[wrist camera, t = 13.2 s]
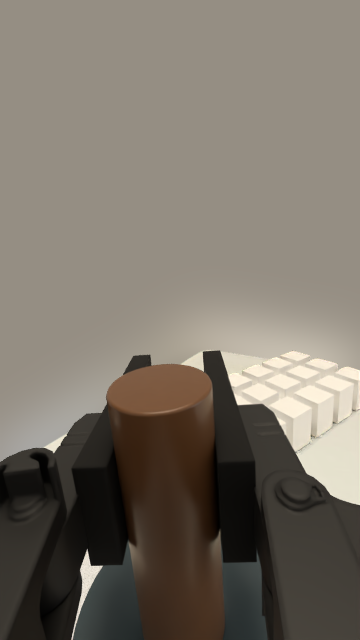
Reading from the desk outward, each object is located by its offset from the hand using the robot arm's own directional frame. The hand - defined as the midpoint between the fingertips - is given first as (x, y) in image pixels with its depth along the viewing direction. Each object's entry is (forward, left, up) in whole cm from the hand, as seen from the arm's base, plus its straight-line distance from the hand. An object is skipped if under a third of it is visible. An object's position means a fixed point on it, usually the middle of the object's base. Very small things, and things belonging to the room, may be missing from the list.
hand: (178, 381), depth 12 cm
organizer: (+17, +17, -18) cm, 30 cm away
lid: (-2, -5, -5) cm, 8 cm away
